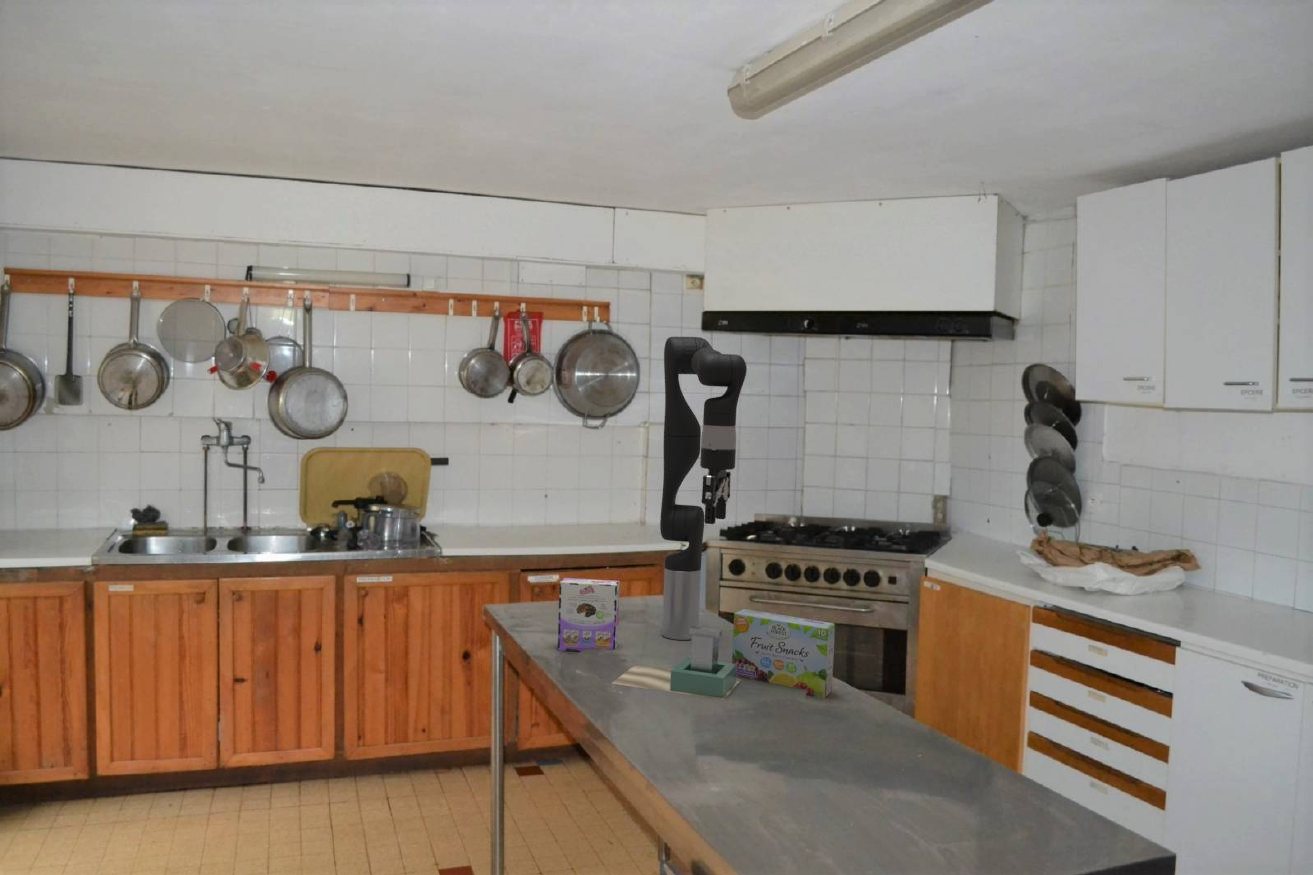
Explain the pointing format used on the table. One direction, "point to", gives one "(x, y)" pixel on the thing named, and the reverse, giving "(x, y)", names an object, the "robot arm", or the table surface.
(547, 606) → the table surface
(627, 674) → the board
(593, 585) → the candy box
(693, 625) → the robot arm
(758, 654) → the snack box
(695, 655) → the stepped grey pillar
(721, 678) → the teal hollow square frame
